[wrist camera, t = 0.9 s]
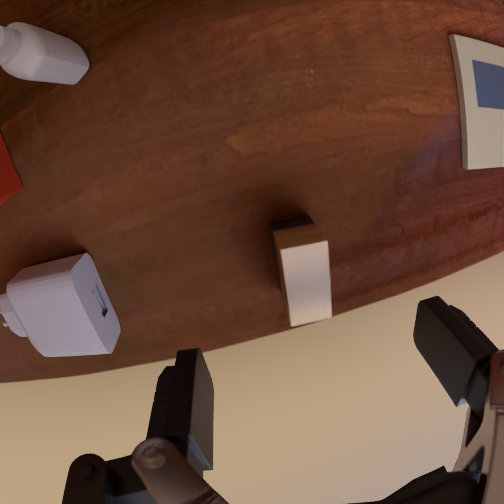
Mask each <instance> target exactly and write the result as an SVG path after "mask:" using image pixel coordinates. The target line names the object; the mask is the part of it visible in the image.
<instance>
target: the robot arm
mask: <svg viewBox="0 0 504 504" xmlns="http://www.w3.org/2000/svg"><path fill="white" fill-rule="evenodd" d="M413 337H414V342H415V345H416V347H417V349H418V350H419V352H420V353H421V355H422V356H423V357H424V359H425V360H426V362H427V363H428V365H429V366H430V368H431V369H432V371H433V372H434V374H435V375H436V377H437V378H438V379H439V381H440V382H441V384H442V386H443V387H444V388H445V390H446V392H447V393H448V395H449V396H450V398H451V399H452V401H453V402H454V404H455V406H456V407H458V406H460V405H462V404H464V403H466V402H467V403H468V404H469V408H468V410H467V416H466V422H465V429H464V435H463V441H462V445H461V451H460V454H459V457H458V459H457V461H456V463H455V465H454V468H453V471H452V472H447V471H446V469H445V467H444V466H442V467H440V468H438V469H436V470H434V471H432V472H429V473H427V474H425V475H423V476H420V477H418V478H416V479H414V480H412V481H411V482H409V483H408V484H406V485H405V486H403V487H402V488H400V489H399V490H397V491H396V492H394V493H393V494H391V495H390V496H388V497H387V498H385V499H383V500H380V501H374V502H363V503H350V504H504V349H503V350H499V349H498V348H497V347H496V346H495V345H494V344H493V343H492V342H491V341H490V340H489V338H487V336H486V335H485V334H484V333H483V332H482V331H481V330H480V329H479V328H478V327H476V325H475V324H474V323H473V322H472V321H470V318H469V317H467V315H466V314H465V313H464V312H463V311H461V310H459V309H457V308H456V307H454V306H452V305H449V306H448V305H447V304H446V303H445V302H444V301H443V300H442V299H441V298H440V297H439V296H435V297H431V298H428V299H425V300H421V301H420V302H419V304H418V307H417V314H416V321H415V327H414V333H413ZM213 413H214V388H213V383H212V378H211V376H210V373H209V371H208V368H207V365H206V362H205V360H204V357H203V354H202V352H201V350H200V348H194V349H186V350H179V351H178V352H177V356H176V362H175V366H166V367H165V369H164V370H163V372H162V373H161V374H160V376H159V377H158V382H157V386H156V392H155V396H154V402H153V406H152V411H151V416H150V421H149V427H148V432H147V437H146V440H145V441H143V442H141V443H140V444H139V445H137V446H136V448H135V449H134V451H133V453H132V454H131V455H129V456H126V457H122V458H117V459H113V460H109V461H104V460H103V459H102V458H101V457H100V456H98V455H95V454H84V455H81V456H79V457H78V458H76V459H75V460H74V461H73V462H72V464H71V466H70V468H69V472H68V477H67V481H66V485H65V490H64V495H63V500H62V504H229V503H228V502H227V501H226V500H224V498H223V497H222V496H221V495H219V494H218V493H217V492H216V491H215V490H214V489H213V488H212V487H211V486H209V484H208V483H207V482H206V481H205V480H204V479H203V471H204V470H213Z"/></svg>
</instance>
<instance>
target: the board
mask: <svg viewBox="0 0 504 504" xmlns="http://www.w3.org/2000/svg"><path fill="white" fill-rule="evenodd" d="M448 37H449V41H450V46H451V51H452V57H453V62H454V68H455V75H456V82H457V89H458V98H459V108H460V120H461V137H462V168H465V169H468V170H469V169H480V168H492V167H504V48H502V47H499V46H496V45H493V44H490V43H486V42H483V41H479V40H476V39H472V38H468V37H464V36H460V35H456V34H452V35H448Z"/></svg>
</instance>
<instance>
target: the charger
mask: <svg viewBox="0 0 504 504" xmlns="http://www.w3.org/2000/svg"><path fill="white" fill-rule="evenodd" d="M0 307H1V309H0V314H2V315H3V316H4V318H5V320H6V322H3V325H4V326H9V327H10V329H11V330H12V331H13V332H14V333H15V334H17V335H18V336H20V337H26V336H28V338H29V340H30V341H31V343H32V345H33V346H34V348H35V349H36V350H38V351H39V352H40V353H41V354H42V355H43V356H45V357H58V356H79V355H95V354H108V353H112V352H113V350H114V347H115V345H116V342H117V339H118V337H119V334H120V331H121V330H120V324H119V321H118V318H117V316H116V313H115V311H114V309H113V307H112V305H111V302H110V300H109V298H108V296H107V293H106V291H105V289H104V286H103V284H102V282H101V279H100V277H99V274H98V272H97V269H96V267H95V264H94V262H93V260H92V258H91V257H90V255H89V254H88V253H84V254H80V255H75V256H71V257H67V258H63V259H59V260H54V261H50V262H46V263H42V264H38V265H34V266H30V267H26V268H23V269H21V270H20V271H19V272H18V273H17V274H16V275H15V276H14V277H13V278H12V279H11V280H10V281H9V282H8V284H7V289H6V294H3V295H0Z"/></svg>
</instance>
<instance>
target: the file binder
mask: <svg viewBox="0 0 504 504" xmlns="http://www.w3.org/2000/svg"><path fill="white" fill-rule="evenodd" d="M22 188H23V185H22V183H21V180H20V178H19V176H18V174H17V171H16V169H15V167H14V165H13V162H12V160H11V157H10V155H9V152H8V150H7V147H6V145H5V142H4V140H3V137H2V134H1V132H0V207H1V206H2V205H3V204H4V203H5V202H7V201H8V200H9V199H10V198H11V197H12V196H14V195H15V194H16V193H17V192H18V191H20V190H21V189H22Z"/></svg>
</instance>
